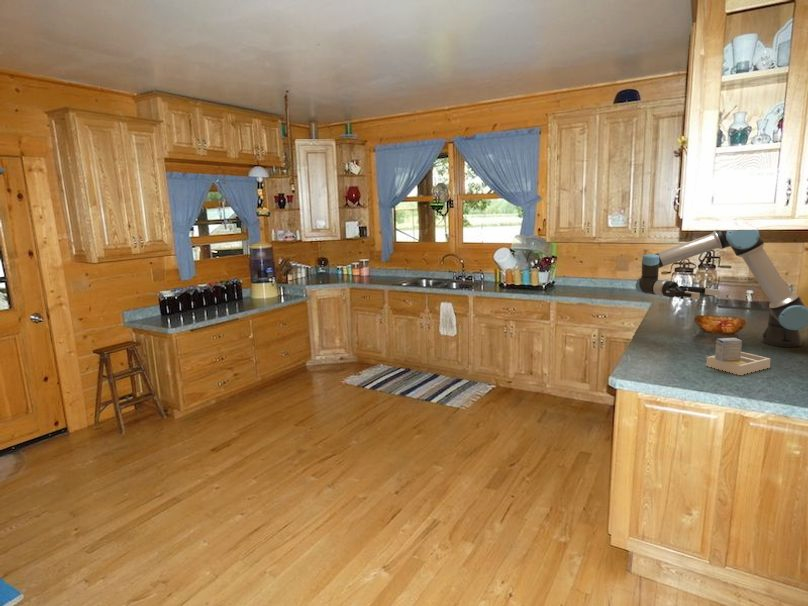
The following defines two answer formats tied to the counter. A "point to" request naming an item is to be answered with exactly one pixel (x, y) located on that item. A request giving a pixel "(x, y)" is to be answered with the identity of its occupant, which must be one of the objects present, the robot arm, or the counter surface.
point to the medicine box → (728, 349)
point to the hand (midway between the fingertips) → (709, 294)
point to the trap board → (740, 364)
